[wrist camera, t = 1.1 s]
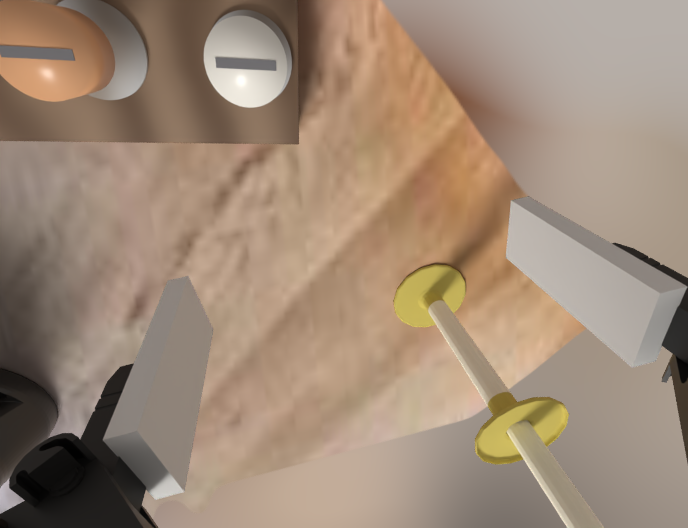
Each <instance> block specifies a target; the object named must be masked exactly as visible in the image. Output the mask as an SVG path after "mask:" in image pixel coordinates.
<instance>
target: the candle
mask: <svg viewBox="0 0 688 528" xmlns="http://www.w3.org/2000/svg"><path fill="white" fill-rule="evenodd" d="M464 296H465V281H464V279H463V277H462V275H461V274H460V272H459V271H457V270H456V269H454V268H452V267H450V266H449V265H438V264H433V265H430V266H426V267H423V268H419V269H418V270H416V271H415V272H413V273H412V274H410V275H409V276H407V277H406V278H405V280H404V281H403V282H402V283H401V285H400V286H399V287H398V288H397V291H396V294H395V298H394V308H395V313H396V314H397V315H398V317H399V318H400V319H401V321H402V322H404V323H406V324H409V325H411V326H413V327H429V326H432V325H435V324H436V325H437V327H438V328H439V330H440V331H441V333H442V335H443V336H444V338H445V339H446V341H447V343H448V344H449V346H450V347H451V349H452V351H453V352H454V354H455V355H456V357H457V358H458V360H459V362H460V363H461V365H462V366H463V368H464V370H465V371H466V373H467V374H468V376H469V378H470V379H471V381H472V382H473V384H474V385H475V387H476V389H477V390H478V392H479V393H480V395H481V397H482V398H483V400H484V401H485V403H486V405H487V406H488V408H489V409H490V411H491V412H492V414H493V416H492V417H491V418H490V419H489V420H488V421H487V422H486V423H485V424H484V425H483V426H482V427H481V429H480V431H479V433H478V434H477V436H476V438H475V452H476V454H477V455H478V456H479V457H480V458H481V459H482V461H484V462H488V463H492V464H508V463H513V462H516V461H520V460H523V459H524V460H525V462H526V464H527V465H528V467H529V468H530V470H531V471H532V473H533V475H534V476H535V478H536V479H537V481H538V482H539V484H540V486H541V487H542V489H543V490H544V492H545V493H546V495H547V497H548V498H549V500H550V501H551V503H552V505H553V506H554V508H555V509H556V511H557V512H558V514H559V515H560V517H561V519H562V520H563V522H564V523H565V525H566V526H567V528H604V526H603V525H602V524H601V522H600V521H599V520H598V518H597V517H596V515H595V514H594V512H593V511H592V510H591V508H590V507H589V506H588V504H587V503H586V501H585V500H584V499H583V497H582V496H581V494H580V493H579V491H578V490H577V489H576V487H575V486H574V484H573V483H572V482H571V480H570V479H569V477H568V476H567V475H566V473H565V472H564V470H563V469H562V468H561V466H560V465H559V463H558V462H557V461H556V459H555V458H554V457H553V455H552V454H551V452H550V451H549V450H548V448H547V446H548V445H549V444H551V443H552V442H553V441H555V440H556V439H557V438H558V437H559V435H560V434H561V433H562V431H563V430H564V428H565V427H566V425H567V421H568V416H569V414H568V412H567V410H566V408H565V406H564V404H563V403H561V402H559V401H557V400H555V399H552V398H550V397H539V398H538V397H534V398H530V399H526V400H523V401H520V402H517V401H516V400H515V398H514V397H513V395H512V394H511V393H510V391H509V390H508V388H507V387H506V386H505V384H504V383H503V382H502V380H501V379H500V377H499V376H498V375H497V373H496V372H495V370H494V369H493V368H492V366H491V365H490V364H489V362H488V361H487V359H486V358H485V357H484V355H483V354H482V352H481V351H480V350H479V348H478V347H477V345H476V344H475V343H474V341H473V340H472V339H471V337H470V336H469V334H468V333H467V332H466V330H465V329H464V327H463V326H462V325H461V323H460V322H459V321H458V319H457V318H456V316H455V315H454V312H455V311H456V310H457V309H458V308H459V307H460V306H461V303H462V301H463V299H464Z"/></svg>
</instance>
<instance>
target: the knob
mask: <svg viewBox="0 0 688 528" xmlns="http://www.w3.org/2000/svg"><path fill="white" fill-rule="evenodd" d="M204 65H205V69H206V73H207V75H208V78H209V80H210V82H211V83H212V85H213V87H214V88H215V89H216V90H217V92H218V93H219V94H220V95H221V96H222V97H224V98H225V99H226V100H228V101H229V102H231V103H233V104H235V105H238V106H242V107H248V108H254V107H260V106H263V105H265V104H267V103H269V102H271V101H272V100H273V99H274V98H275V97H277V95H278V94H279V93H280V91H281V90H282V88H283V86H284V83H285V80H286V75H287V59H286V54H285V51H284V48H283V46H282V44H281V42H280V40H279V38H278V37H277V35H276V34H275V33H274V32H273V31H272V30H271V29H270V28H269V27H268V26H267V25H266V24H264V23H263V22H261V21H259V20H257V19H255V18H252V17H249V16H232V17H229V18H226V19H224V20H222V21H221V22H219V23H218V24H217V25H216V26H215V27H214V28H213V29H212V30H211V32H210V33H209V35H208V37H207V40H206V43H205V47H204Z"/></svg>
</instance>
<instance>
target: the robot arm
mask: <svg viewBox="0 0 688 528" xmlns="http://www.w3.org/2000/svg"><path fill="white" fill-rule="evenodd" d="M506 258H507V259H508V260H509V261H510V262H512V263H513V264H514V265H515V266H516V267H517V268H518V269H520V270H521V271H522V272H523V273H524V274H525V275H526V276H528V277H529V278H530V279H531V280H532V281H533V282H535V283H536V284H537V285H538V286H539V287H540V288H541V289H543V290H544V291H545V292H546V293H547V294H548V295H549V296H551V297H552V298H553V299H554V300H555V301H556V302H557V303H559V304H560V305H561V306H562V307H563V308H564V309H565V310H567V311H568V312H569V313H570V314H571V315H572V316H573V317H575V318H576V319H577V320H578V321H579V322H580V323H581V324H583V325H584V326H585V327H586V328H587V329H588V330H590V331H591V332H592V333H593V334H594V335H595V336H596V337H598V338H599V339H600V340H601V341H602V342H603V343H604V344H606V345H607V346H608V347H609V348H610V349H611V350H612V351H613V352H615V353H616V354H617V355H618V356H619V357H620V358H622V359H623V360H624V361H625V362H626V363H627V364H628V365H630V366H631V367H636V366H640V365H643V364H647V363H650V362H654V361H656V359H657V356H658V354H659V352H660V350H661V347H662V346H663V347H665V348H666V349H667V350H669V351H670V352H671V353H673V355H672V357H671V359H670V362H669V363H668V366H667V368H666V370H665V372H664V374H663V377H662V382H667V380H668V378H669V377H670V376H672V379H673V385H674V390H675V396H676V402H677V407H678V413H679V417H680V424H681V429H682V435H683V440H684V446H685V451H686V457H687V462H688V278H687V277H685V276H683V275H681V274H679V273H677V272H676V271H674V270H672V269H670V268H668V267H666V266H664V265H660V263H659V262H657V261H655V260H654V259H652V258H648V256H646V255H644V254H643V253H641V252H639V251H637V250H635V249H633V248H630V247H627V246H624V245H621V244H617V243H610V242H608V241H606V240H605V239H603V238H601V237H599V236H598V235H596V234H594V233H592V232H591V231H589V230H587V229H585V228H583V227H582V226H580V225H578V224H576V223H575V222H573V221H571V220H569V219H568V218H566V217H564V216H562V215H561V214H559V213H557V212H555V211H553V210H552V209H550V208H548V207H546V206H545V205H543V204H541V203H539V202H538V201H536V200H534V199H532V198H531V197H529V196H528V197H524V198H519V199H515V200H511V206H510V217H509V228H508V239H507V250H506ZM212 334H213V327H212V325H211V323H210V321H209V319H208V317H207V315H206V313H205V310H204V308H203V306H202V304H201V302H200V300H199V298H198V296H197V294H196V291H195V289H194V287H193V285H192V283H191V281H190V279H189V277H188V276H186V277H181V278H177V279H173V280H169V281H168V282H167V284H166V287H165V289H164V292H163V294H162V296H161V299H160V301H159V304H158V306H157V309H156V311H155V313H154V316H153V318H152V321H151V323H150V326H149V328H148V331H147V333H146V335H145V338H144V340H143V343H142V345H141V348H140V350H139V353H138V355H137V357H136V360H135V362H134V364H130V365H126V366H122V367H120V368H119V369H118V370H117V371H116V372H115V373H114V375H113V376H112V377H111V378H110V379H109V380H108V381H107V384H106V386H105V388H104V390H103V392H102V394H101V399H99V401H98V403H97V405H96V407H95V411H94V412H93V414H92V416H91V418H90V420H89V422H88V424H87V426H86V429H85V431H84V433H83V435H82V437H81V439H79V438H78V437H77V436H75V435H74V434H72V433H62V434H59V435H56V436H53V437H50V438H48V437H49V435H50V433H51V432H52V430H53V428H54V426H55V424H56V421H57V409H56V406H55V404H54V402H53V400H52V399H51V397H50V396H49V395H48V394H47V393H46V392H45V391H44V390H43V389H42V388H41V387H39V386H38V385H36V384H35V383H33V382H32V381H30V380H28V379H26V378H24V377H22V376H19V375H17V374H14V373H12V372H9V371H5V370H2V369H0V488H1V486H2V485H3V484H4V483H5V482H6V481H7V480H8V479H9V478H10V480H9V488H10V489H11V490H12V491H14V492H15V493H16V494H18V495H19V496H20V497H21V498H23V499H24V500H25V501H24V502H22V503H20V504H18V505H16V506H14V507H12V508H11V509H9V510H7V511H5V512H3V513H1V514H0V528H158V526H157V525H156V524H155V522H154V521H153V519H152V518H151V516H150V515H149V513H148V512H147V511H146V509H145V508H144V507H143V506H142V501H143V498H144V494H145V490H147V491H148V492H149V493H150V494H151V495H152V496H153V498H154V499H155V500H157V499H160V498H164V497H167V496H171V495H175V494H178V493H182V492H184V491H185V485H186V480H187V474H188V469H189V463H190V457H191V452H192V446H193V441H194V435H195V429H196V424H197V418H198V413H199V407H200V402H201V396H202V390H203V385H204V379H205V374H206V368H207V362H208V357H209V351H210V346H211V340H212Z"/></svg>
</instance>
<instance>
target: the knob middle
mask: <svg viewBox="0 0 688 528" xmlns="http://www.w3.org/2000/svg"><path fill="white" fill-rule="evenodd" d="M114 71H115V56H114V52H113V49H112V46H111V44H110V42H109V40H108V38H107V37H106V35H105V34H104V32H103V31H102V30H101V29H100V27H99V26H98V25H97V24H96V23H95V22H93V21H92V20H91V19H90V18H88V17H87V16H85V15H84V14H82V13H80V12H78V11H76V10H73V9H70V8H66V7H61V6H57V5H52V4H47V3H42V2H37V1H32V0H3V1H0V75H1V76H2V77H3V78H4V79H5V80H6V81H7V82H8V83H10V84H11V85H12V86H13V87H15V88H16V89H18V90H19V91H21V92H23V93H24V94H26V95H28V96H31V97H33V98H36V99H39V100H44V101H51V102H58V101H65V100H68V99H72V98H76V97H80V96H83V95H87V94H91V93H94V92H97V91H100V90H102V89H103V88H105V87H106V86H107V85H108V84H109V83H110V81H111V80H112V77H113V75H114Z"/></svg>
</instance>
